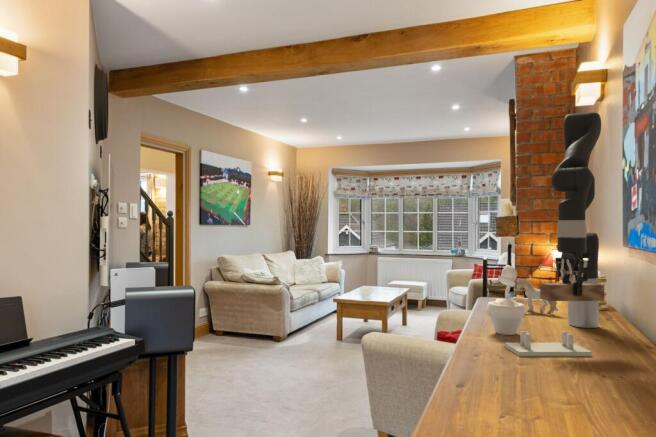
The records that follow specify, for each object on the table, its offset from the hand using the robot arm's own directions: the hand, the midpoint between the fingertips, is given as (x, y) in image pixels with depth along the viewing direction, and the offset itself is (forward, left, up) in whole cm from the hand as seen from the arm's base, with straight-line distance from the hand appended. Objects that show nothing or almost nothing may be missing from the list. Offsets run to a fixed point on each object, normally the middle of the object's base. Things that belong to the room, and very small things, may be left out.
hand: (571, 294), depth 136 cm
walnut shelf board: (0, 0, -2) cm, 2 cm away
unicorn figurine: (-56, +14, -16) cm, 60 cm away
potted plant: (-19, -12, -16) cm, 27 cm away
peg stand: (+3, -9, -16) cm, 18 cm away
